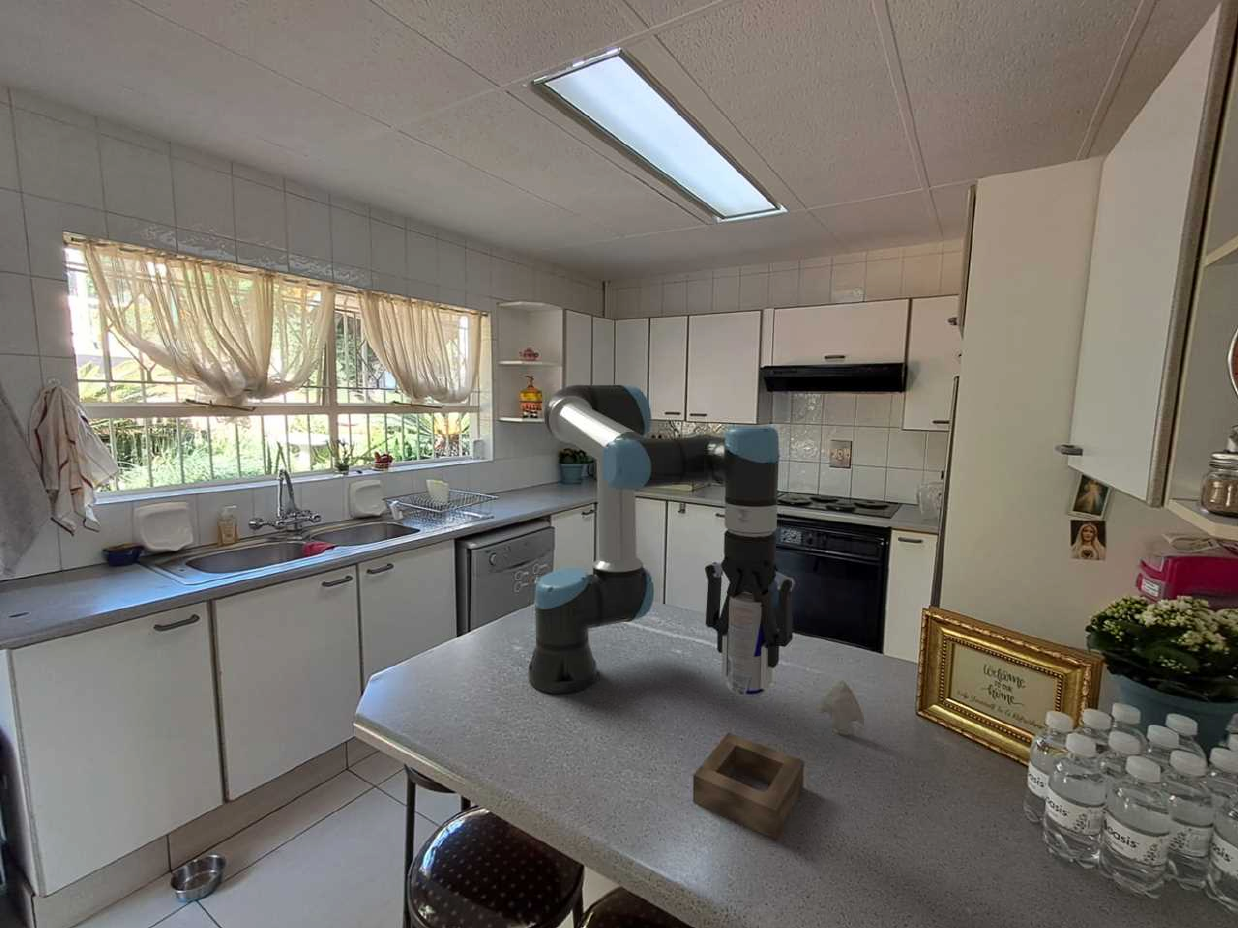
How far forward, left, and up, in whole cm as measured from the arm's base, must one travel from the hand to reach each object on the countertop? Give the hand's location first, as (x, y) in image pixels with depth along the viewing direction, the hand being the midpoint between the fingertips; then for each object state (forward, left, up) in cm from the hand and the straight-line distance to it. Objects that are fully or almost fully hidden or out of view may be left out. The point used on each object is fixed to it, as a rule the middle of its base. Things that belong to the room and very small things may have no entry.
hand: (746, 678), depth 84 cm
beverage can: (0, 0, -2) cm, 2 cm away
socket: (+1, +1, -19) cm, 19 cm away
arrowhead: (+9, +26, -20) cm, 34 cm away
